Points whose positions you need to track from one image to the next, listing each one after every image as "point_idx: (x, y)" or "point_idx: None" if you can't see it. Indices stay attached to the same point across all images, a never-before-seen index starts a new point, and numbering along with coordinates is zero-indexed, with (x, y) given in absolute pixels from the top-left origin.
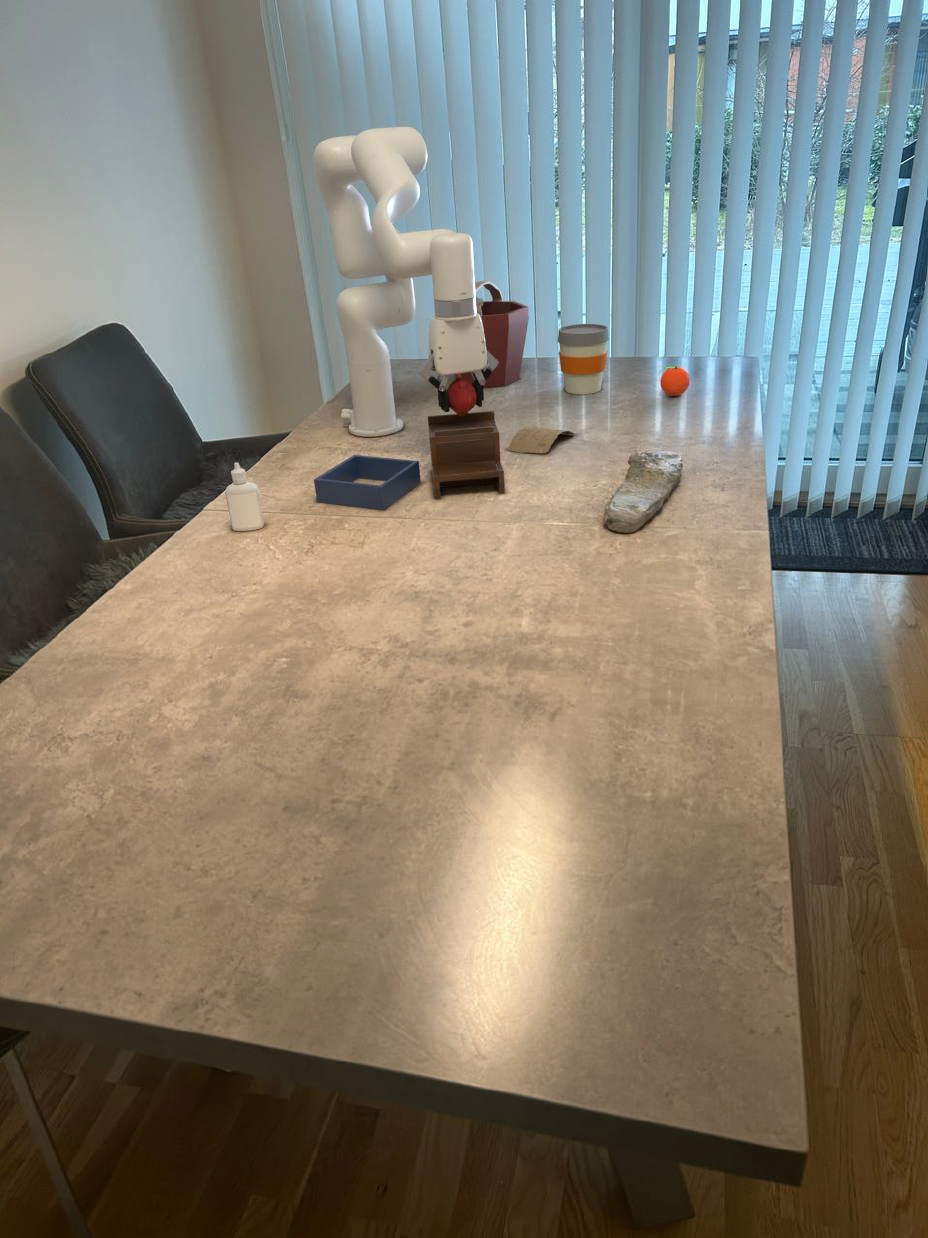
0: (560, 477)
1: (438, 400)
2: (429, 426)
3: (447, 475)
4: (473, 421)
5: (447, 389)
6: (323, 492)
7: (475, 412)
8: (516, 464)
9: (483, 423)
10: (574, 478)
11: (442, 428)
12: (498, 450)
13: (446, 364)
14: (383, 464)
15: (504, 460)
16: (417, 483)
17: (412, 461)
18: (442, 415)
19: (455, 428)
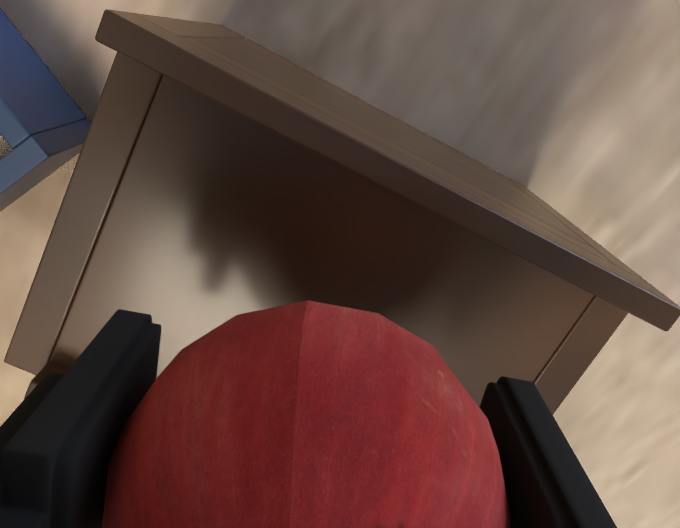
0: (628, 465)
1: (28, 403)
2: (105, 108)
3: None
4: (474, 246)
5: (113, 524)
6: None
7: (533, 248)
8: (622, 220)
9: (496, 343)
10: (656, 503)
11: (175, 239)
12: None
13: None
14: None
15: (625, 127)
16: (70, 158)
17: (8, 140)
18: (240, 110)
19: (261, 307)
